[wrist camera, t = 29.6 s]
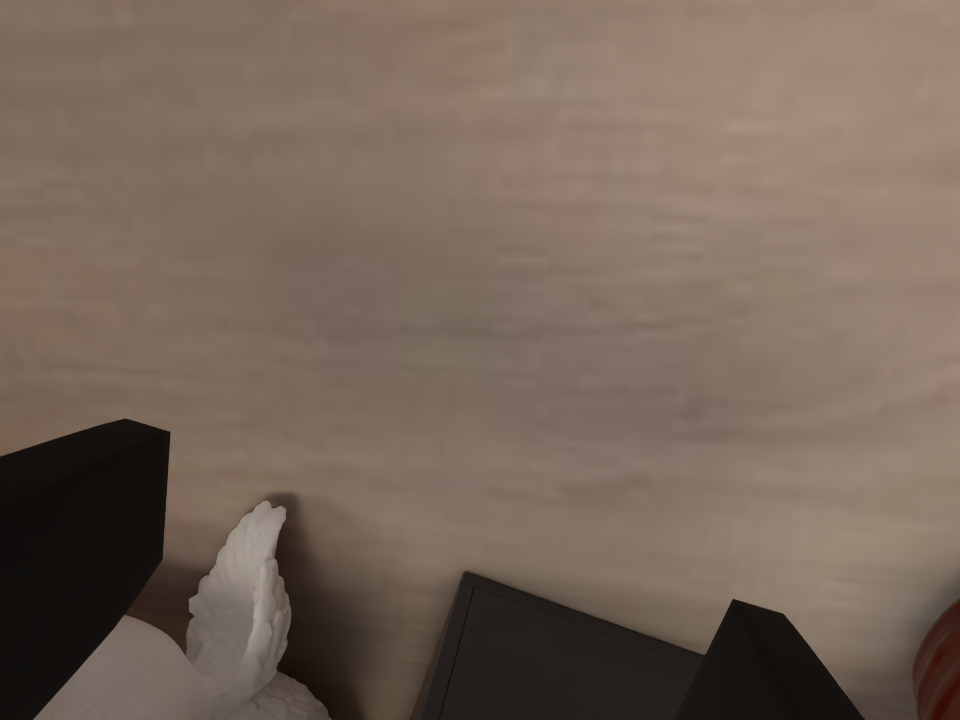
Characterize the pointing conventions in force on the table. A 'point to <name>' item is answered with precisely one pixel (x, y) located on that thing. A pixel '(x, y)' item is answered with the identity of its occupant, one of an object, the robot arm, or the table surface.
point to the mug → (939, 669)
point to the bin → (546, 664)
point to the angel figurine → (202, 649)
